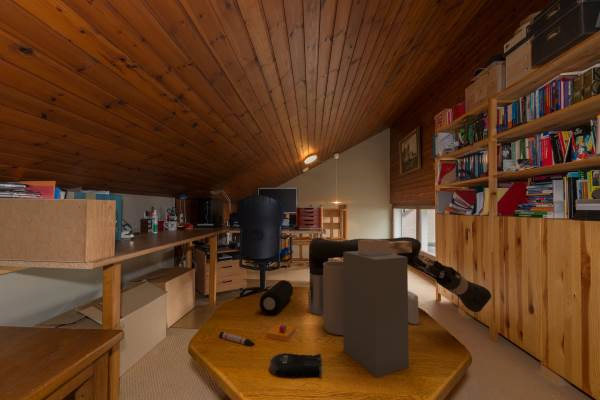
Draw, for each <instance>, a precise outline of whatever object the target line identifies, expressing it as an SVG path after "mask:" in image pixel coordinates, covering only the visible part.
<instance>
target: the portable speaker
mask: <svg viewBox="0 0 600 400" xmlns="http://www.w3.org/2000/svg"><path fill="white" fill-rule="evenodd" d="M293 293H294V287H293V285H292V283H291V282H289V281H287V280H286V279H285V280H283V279H282V280H280V281H278V282H276V284H274V285H273V286H271V287H270V288H269V289H268V290H266V292H264V293H263V294H262V295H261V296H260V298H259V308H260V310H261V311H262V312H263V313H264V314H266V315H273V314H276V313H278V312H279V310H281V309H282V307H283V306H284V305H285V304H286V303H287V302H288V301H289V300H290V298H291V297H292V296H293Z"/></svg>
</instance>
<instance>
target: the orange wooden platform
mask: <svg viewBox="0 0 600 400" xmlns="http://www.w3.org/2000/svg"><path fill="white" fill-rule="evenodd" d="M295 334H296V327H295V326H291V325H290V326H289V325H285V324H278V323H277V324H275V325H274V326H272V328H270V329H269V330H268V331H267V332H266V339H271V340H275V341H276V340H277V341H282V342H289V340H290V339H291V338H292V336H293V335H295Z"/></svg>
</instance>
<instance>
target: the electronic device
mask: <svg viewBox="0 0 600 400" xmlns="http://www.w3.org/2000/svg"><path fill="white" fill-rule="evenodd" d="M322 362H323V359H322V354H321V353H318V354H314V355H313V354H312V355H311V354H294V353H289V352H287V353H286V352H284V353H278V354H275V355H274V356H273V357H272V358H271V359H270V361H269V370H270V371H271V372H272V374H275V375H276V376H279V377H287V378H288V377H289V378H291V377H292V378H294V377H295V378H298V377H299V378H301V377H315V376H317V377H320V378H322V375H323V364H322Z"/></svg>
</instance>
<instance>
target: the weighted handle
mask: <svg viewBox="0 0 600 400" xmlns="http://www.w3.org/2000/svg"><path fill="white" fill-rule="evenodd" d="M363 239H364V240H358V254H361V255H365V256H379V255H389V254H394V255H397V253H410V252H412V242H409V241H394V242H389V240H382V239H383V238H363Z"/></svg>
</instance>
